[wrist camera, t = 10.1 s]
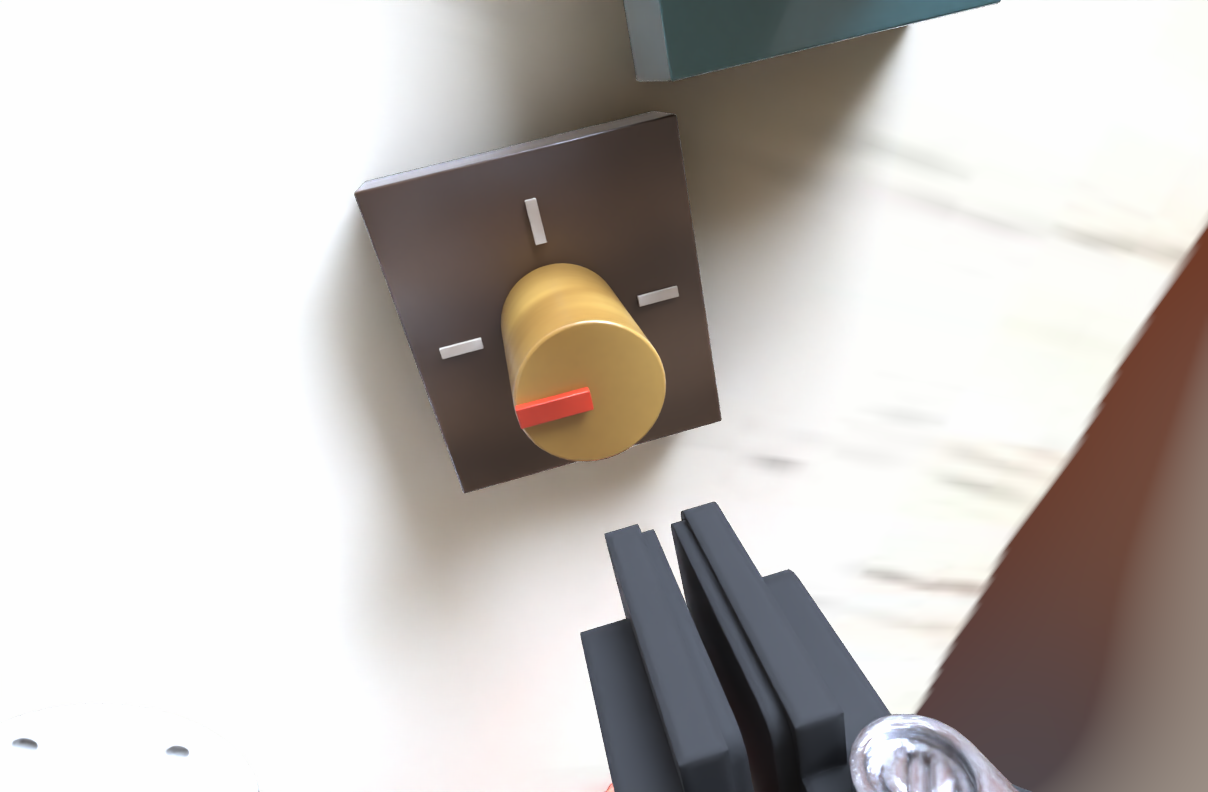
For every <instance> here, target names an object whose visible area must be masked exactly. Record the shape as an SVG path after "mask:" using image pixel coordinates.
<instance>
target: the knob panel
mask: <svg viewBox="0 0 1208 792" xmlns="http://www.w3.org/2000/svg"><path fill="white" fill-rule="evenodd" d="M354 195H355V198H356V201H357V204H358V206H359V209H360V212H361V215H362V217H363V220H364V223H365V225H366V228H367V231H368V234H369V236H370V239H371V242H372V245H373V247H374V250H375V253H376V256H377V258H378V261H379V264H380V266H381V269H382V272H383V275H384V277H385V280H386V283H387V286H388V288H389V291H390V294H391V297H392V299H393V302H394V305H395V307H396V310H397V313H398V316H399V318H400V321H401V324H402V327H403V329H404V332H405V335H406V338H407V340H408V343H409V346H410V348H411V351H412V354H413V357H414V359H415V362H416V365H417V368H418V370H419V373H420V376H421V379H422V381H423V384H424V387H425V389H426V392H427V395H428V398H429V400H430V403H431V406H432V409H433V411H434V414H435V417H436V420H437V422H438V425H439V428H440V430H441V433H442V436H443V439H444V441H445V444H446V447H447V450H448V452H449V455H450V458H451V461H452V463H453V466H454V469H455V471H456V474H457V477H458V480H459V482H460V485H461V488H462V491H463V492H464V493H468V492H472V491H475V490H479V489H482V488H486V487H489V486H493V485H496V484H500V483H503V482H507V481H510V480H514V479H517V478H521V477H524V476H528V475H532V474H535V473H539V472H542V471H546V470H549V469H553V468H556V467H560V466H563V465H567V464H570V463H574V462H577V461H572V460H566V459H563V458H559V457H557V456H554V455H552V454H550V453H548V452H546V451H544V450H543V449H541V448H540V447H538V446H537V445H536V444H535V443H534V442H533V441H532V440H531V439H530V438H529V437H528V436H527V435H526V433H525V432H524V431H523V429H521V428H520V424H519V422H518V419H517V416H516V414H515V409H514V404H513V398H512V392H511V386H510V380H509V374H508V368H507V362H506V356H505V350H504V344H503V338H502V332H501V314H502V309H503V306H504V303H505V300H506V298H507V296H508V294H509V292H510V291H511V290H512V288H513V287H514V286H515V284H516V283H517V282H518V281H519V280H520V279H522V278H523V277H524V276H525V275H527V274H528V273H530V272H531V271H533V270H535V269H537V268H540V267H543V266H546V265H550V264H557V263H567V264H574V265H579V266H582V267H585V268H587V269H589V270H591V271H593V272H595V273H596V274H597V275H599V276H600V277H601V278H602V279H603V280H604V281H605V282H606V283H607V284H608V285H609V287H610V288H611V289H612V291H613V292H614V293H615V295H616V296H617V297H618V299H619V300H620V302H621V303H622V304H623V306H624V307H625V309H626V310H627V311H628V313H629V314H630V315H631V317H632V318H633V320H634V321H635V322H636V324H637V325H638V326H639V328H640V329H641V331H642V332H643V333H644V335H645V336H646V337H647V339H648V340H649V342H650V343H651V344H652V346H653V347H654V348H655V350H656V352H657V353H658V355H659V357H660V359H661V362H662V364H663V368H664V372H665V379H666V392H665V398H664V403H663V406H662V409H661V412H660V414H659V416H658V418H657V420H656V421H655V423H654V425H653V426H652V428H651V429H650V430H649V431H648V433H647V434H646V435H645V436H644V437H643V438H642V439H641V440H640V441H639V442H637V443H636V444H635V445H637V444H641V443H644V442H648V441H651V440H655V439H658V438H662V437H666V436H669V435H673V434H676V433H680V432H683V431H687V430H690V429H694V428H697V427H701V426H704V425H708V424H711V423H715V422H718V421H721V412H720V405H719V398H718V392H717V385H716V378H715V372H714V365H713V358H712V351H711V345H710V338H709V331H708V324H707V318H706V311H705V304H704V298H703V291H702V284H701V277H700V271H699V264H698V257H697V251H696V244H695V237H694V230H693V224H692V217H691V210H690V204H689V197H688V190H687V183H686V177H685V170H684V163H683V157H682V150H681V143H680V136H679V130H678V123H677V116H676V115H675V114H670V113H664V112H658V111H652V112H648V113H644V114H640V115H636V116H631V117H627V118H623V119H619V120H615V121H611V122H607V123H603V124H599V125H595V126H590V127H586V128H582V129H578V130H574V131H570V132H566V133H562V134H558V135H553V136H549V137H545V138H541V139H537V140H533V141H529V142H525V143H521V144H516V145H512V146H508V147H504V148H500V149H496V150H492V151H488V152H484V153H479V154H475V155H471V156H467V157H463V158H459V159H455V160H451V161H447V162H443V163H438V164H434V165H430V166H426V167H422V168H418V169H414V170H410V171H406V172H401V173H397V174H393V175H389V176H385V177H381V178H377V179H373V180H369V181H365V182H364V183H363V184H362V185H361V186H360V188H359V189H358V190H357V191H356V192H355V193H354ZM633 446H634V445H633Z"/></svg>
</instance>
